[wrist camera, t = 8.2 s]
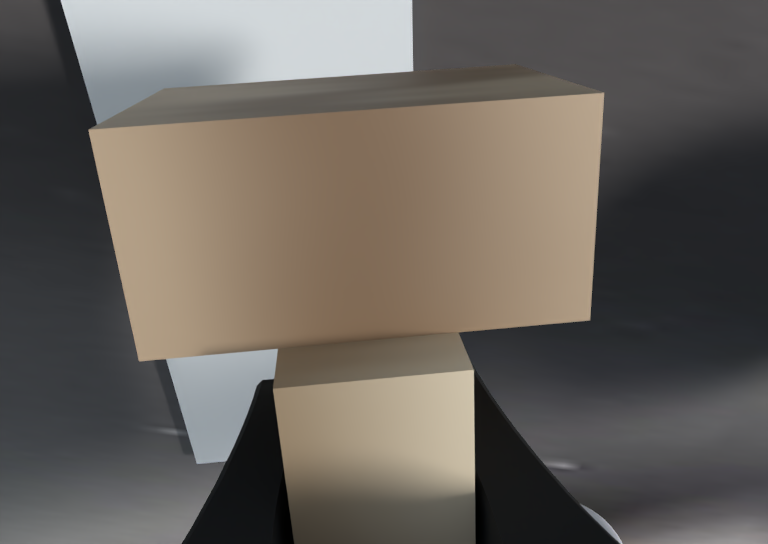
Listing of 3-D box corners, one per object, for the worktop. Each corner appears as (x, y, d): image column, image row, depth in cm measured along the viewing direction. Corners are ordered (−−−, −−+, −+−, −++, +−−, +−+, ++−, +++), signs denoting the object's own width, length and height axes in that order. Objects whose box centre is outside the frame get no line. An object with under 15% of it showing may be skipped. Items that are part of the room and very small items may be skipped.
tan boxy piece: (515, 64, 12) (641, 104, 7) (507, 632, 17) (577, 871, 12) (164, 88, 11) (55, 146, 7) (263, 661, 16) (240, 919, 12)
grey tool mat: (404, -307, 13) (407, -312, 13) (416, 432, 25) (418, 443, 25) (-15, -291, 13) (-26, -294, 12) (198, 453, 25) (197, 464, 24)
